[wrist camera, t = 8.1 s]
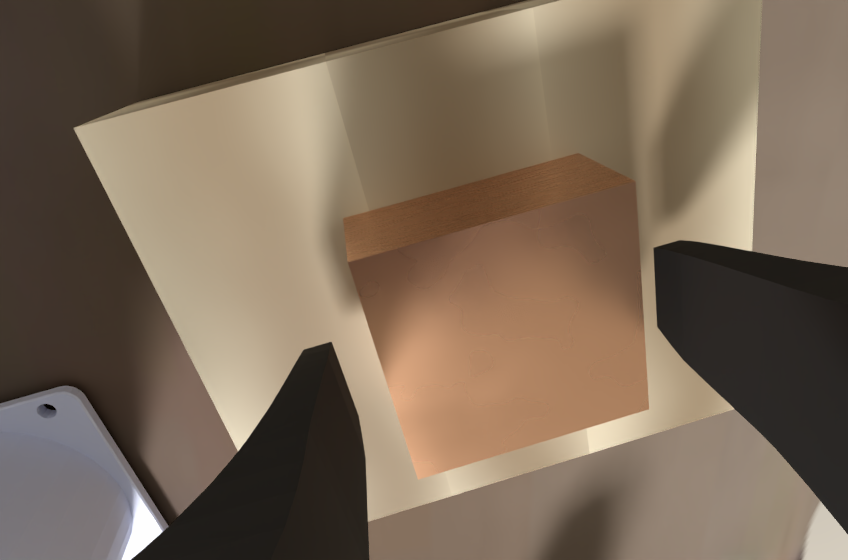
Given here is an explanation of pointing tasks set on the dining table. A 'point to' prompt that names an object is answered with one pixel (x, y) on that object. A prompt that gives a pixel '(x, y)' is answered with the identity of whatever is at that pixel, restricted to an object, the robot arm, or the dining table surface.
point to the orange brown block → (505, 309)
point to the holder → (428, 190)
